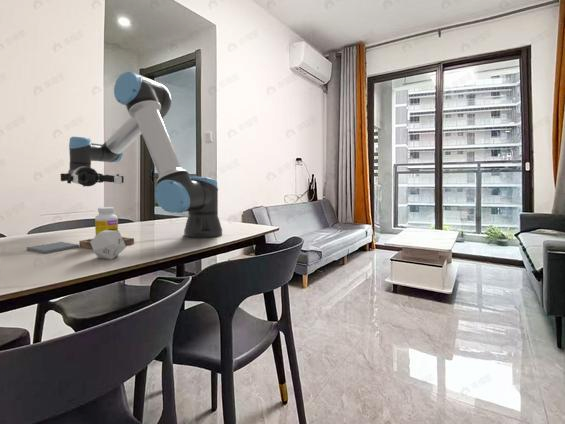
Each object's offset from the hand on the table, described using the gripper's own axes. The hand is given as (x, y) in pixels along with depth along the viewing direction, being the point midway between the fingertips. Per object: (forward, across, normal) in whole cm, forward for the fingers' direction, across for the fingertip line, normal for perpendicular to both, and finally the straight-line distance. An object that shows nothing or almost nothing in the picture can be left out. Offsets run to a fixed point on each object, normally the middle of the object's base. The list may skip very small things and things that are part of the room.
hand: (99, 179), depth 109 cm
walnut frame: (+9, 0, -21) cm, 23 cm away
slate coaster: (+4, +14, -22) cm, 26 cm away
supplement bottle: (+9, 0, -22) cm, 24 cm away
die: (+27, +4, -21) cm, 35 cm away
